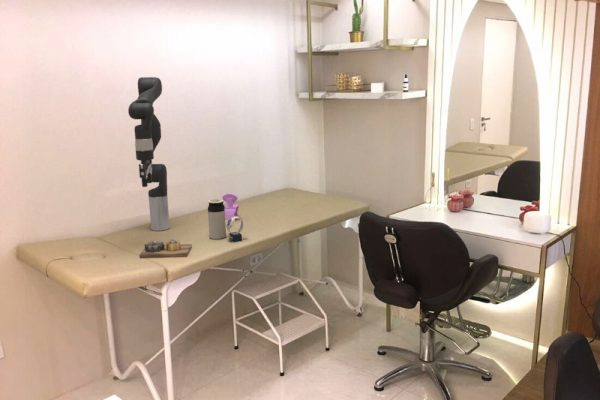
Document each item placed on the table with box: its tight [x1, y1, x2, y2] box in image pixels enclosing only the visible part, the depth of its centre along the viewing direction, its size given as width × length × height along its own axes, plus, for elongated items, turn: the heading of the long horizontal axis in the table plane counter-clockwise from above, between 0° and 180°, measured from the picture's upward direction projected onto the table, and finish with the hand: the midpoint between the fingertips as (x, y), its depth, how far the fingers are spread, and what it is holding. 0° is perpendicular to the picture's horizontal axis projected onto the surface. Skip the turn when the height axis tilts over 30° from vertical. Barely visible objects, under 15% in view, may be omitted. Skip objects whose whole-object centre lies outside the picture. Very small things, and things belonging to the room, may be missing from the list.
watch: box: [226, 217, 245, 243], centre depth 249 cm, size 6×8×11 cm
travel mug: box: [207, 198, 227, 240], centre depth 254 cm, size 8×8×18 cm
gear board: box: [139, 237, 193, 259], centre depth 233 cm, size 13×20×6 cm, turn 93°
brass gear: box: [165, 239, 182, 251], centre depth 233 cm, size 6×6×3 cm
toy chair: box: [221, 192, 239, 220], centre depth 286 cm, size 8×9×15 cm
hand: (147, 184), depth 239 cm, fingers open, 8 cm apart
